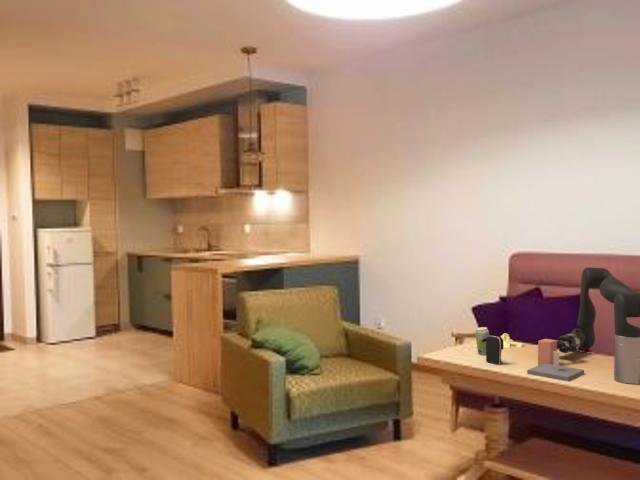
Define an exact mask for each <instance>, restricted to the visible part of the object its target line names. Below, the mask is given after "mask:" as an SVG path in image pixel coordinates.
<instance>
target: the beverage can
mask: <svg viewBox="0 0 640 480" xmlns="http://www.w3.org/2000/svg"><path fill="white" fill-rule="evenodd" d="M474 334H475V341H476V349H477V353H478V354H479V355H480V356H481V355H482V356H483V355H484V356H486V338H487V337H488V336H491V335H490V331H489V329H488V327H486V326H481V327H477V328H476V329H475V331H474Z"/></svg>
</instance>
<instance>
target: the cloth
mask: <svg viewBox="0 0 640 480" xmlns="http://www.w3.org/2000/svg"><path fill="white" fill-rule="evenodd" d="M500 337H501V338H502V339H503V349H506V348H507V349H508V350H509V349H511V347H517V348H523V347H525V344H524V342H516V341H514V339H511V338H510V334H508V333H503V334H502V335H500ZM507 349H506V350H507Z"/></svg>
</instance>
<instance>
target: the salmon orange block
mask: <svg viewBox="0 0 640 480" xmlns="http://www.w3.org/2000/svg"><path fill="white" fill-rule="evenodd" d="M537 341H538V343H537V345H538V346H537V347H538V348H537V354H538V355H537V366H539V365H541V364H544V363H547V364H553V351H558V350H557V339H549V338H544V339H540V340H537Z"/></svg>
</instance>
